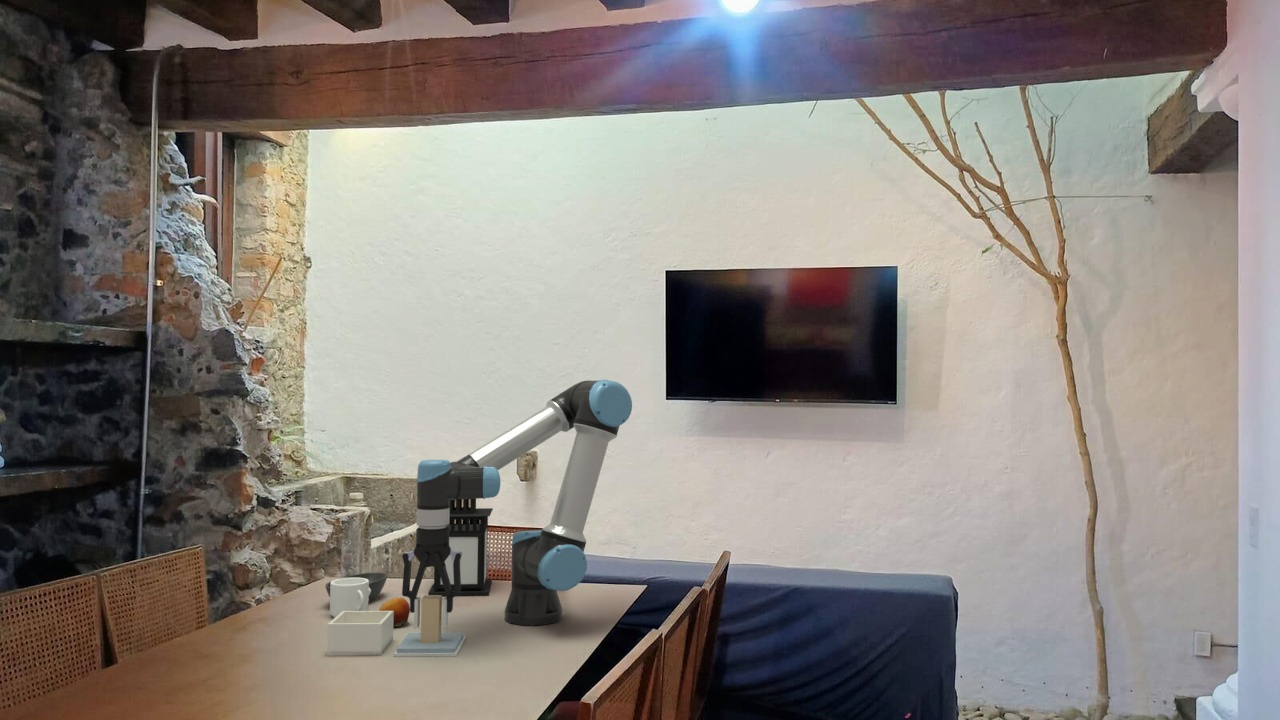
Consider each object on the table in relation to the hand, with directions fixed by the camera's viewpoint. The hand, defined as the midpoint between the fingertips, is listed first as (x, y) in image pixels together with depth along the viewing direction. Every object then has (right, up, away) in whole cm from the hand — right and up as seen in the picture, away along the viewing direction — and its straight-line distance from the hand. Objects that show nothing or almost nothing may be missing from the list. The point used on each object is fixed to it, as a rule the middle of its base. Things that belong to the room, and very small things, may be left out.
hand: (431, 626), depth 205 cm
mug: (-27, -6, +28) cm, 39 cm away
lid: (0, -4, 0) cm, 4 cm away
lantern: (-5, -7, +60) cm, 60 cm away
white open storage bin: (-16, -5, -1) cm, 17 cm away
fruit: (-14, -6, +19) cm, 24 cm away
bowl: (-31, -7, +43) cm, 54 cm away
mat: (0, -5, 0) cm, 5 cm away
